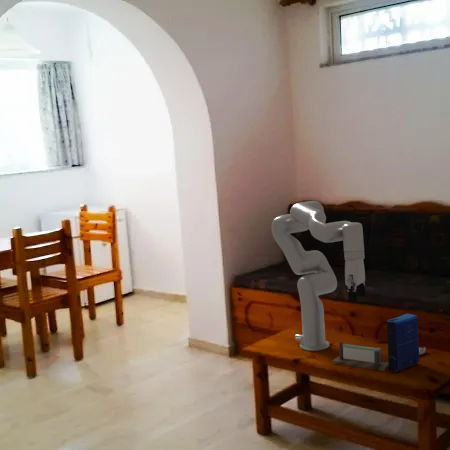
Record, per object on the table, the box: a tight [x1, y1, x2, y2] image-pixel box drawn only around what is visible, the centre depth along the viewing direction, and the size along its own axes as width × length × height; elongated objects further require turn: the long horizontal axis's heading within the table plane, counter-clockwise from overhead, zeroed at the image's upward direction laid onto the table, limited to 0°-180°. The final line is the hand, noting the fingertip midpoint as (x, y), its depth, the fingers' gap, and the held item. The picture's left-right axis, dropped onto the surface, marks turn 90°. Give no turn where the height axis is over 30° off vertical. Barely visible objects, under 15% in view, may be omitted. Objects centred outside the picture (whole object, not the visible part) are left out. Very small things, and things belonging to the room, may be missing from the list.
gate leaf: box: [343, 343, 382, 363], centre depth 245 cm, size 15×2×6 cm, turn 57°
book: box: [386, 313, 420, 373], centre depth 238 cm, size 14×5×20 cm, turn 126°
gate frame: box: [332, 341, 388, 372], centre depth 245 cm, size 21×6×8 cm, turn 57°
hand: (357, 299), depth 242 cm, fingers open, 9 cm apart
